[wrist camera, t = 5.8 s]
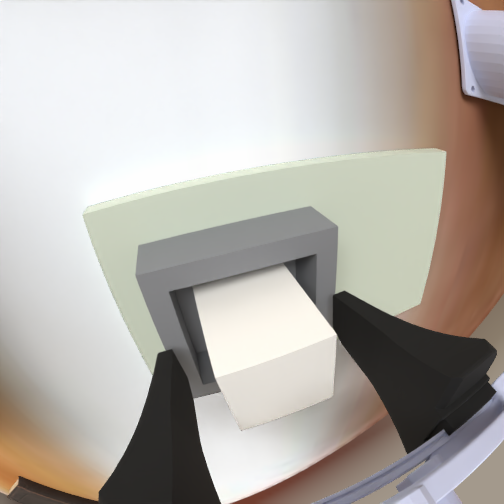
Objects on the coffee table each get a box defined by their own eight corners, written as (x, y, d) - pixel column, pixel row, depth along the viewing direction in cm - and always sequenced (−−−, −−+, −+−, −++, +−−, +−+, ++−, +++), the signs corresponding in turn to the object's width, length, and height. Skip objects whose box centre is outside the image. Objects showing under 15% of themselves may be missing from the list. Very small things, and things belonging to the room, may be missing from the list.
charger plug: (272, 249, 14) (336, 334, 9) (281, 312, 16) (332, 396, 11) (189, 274, 13) (214, 377, 8) (211, 335, 15) (241, 430, 10)
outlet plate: (435, 148, 16) (476, 162, 13) (412, 296, 22) (439, 321, 19) (87, 206, 12) (66, 239, 9) (160, 379, 18) (166, 423, 15)
